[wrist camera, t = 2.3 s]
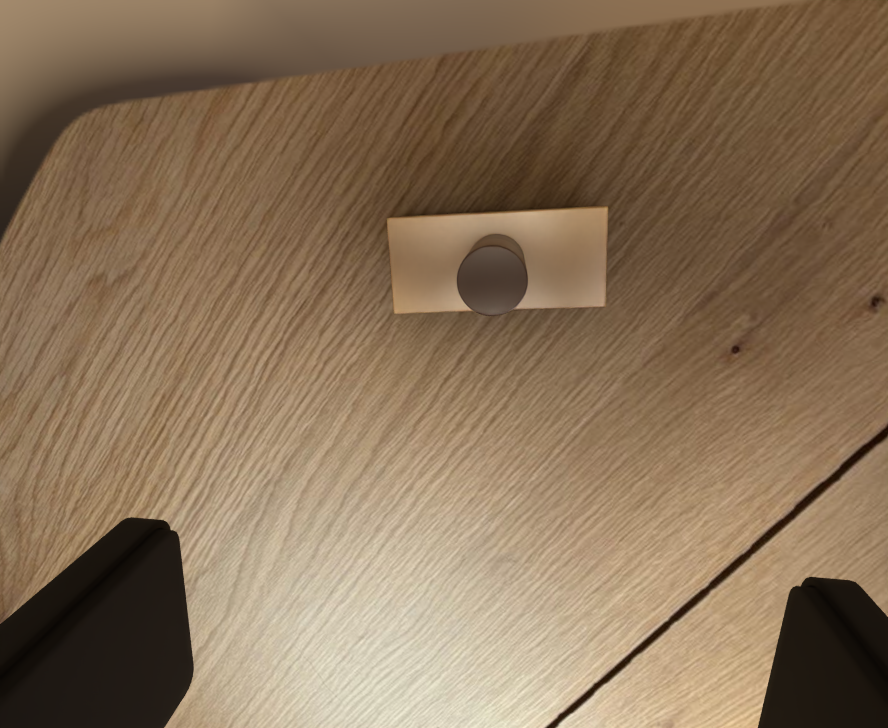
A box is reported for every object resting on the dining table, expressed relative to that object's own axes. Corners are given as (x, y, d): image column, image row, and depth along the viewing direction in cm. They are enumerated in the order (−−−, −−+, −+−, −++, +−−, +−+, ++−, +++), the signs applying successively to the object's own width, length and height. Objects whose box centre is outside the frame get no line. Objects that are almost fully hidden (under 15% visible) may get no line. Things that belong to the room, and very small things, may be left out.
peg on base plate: (398, 215, 30) (352, 224, 21) (598, 204, 29) (635, 210, 20) (404, 302, 31) (363, 344, 23) (597, 296, 30) (631, 337, 21)
